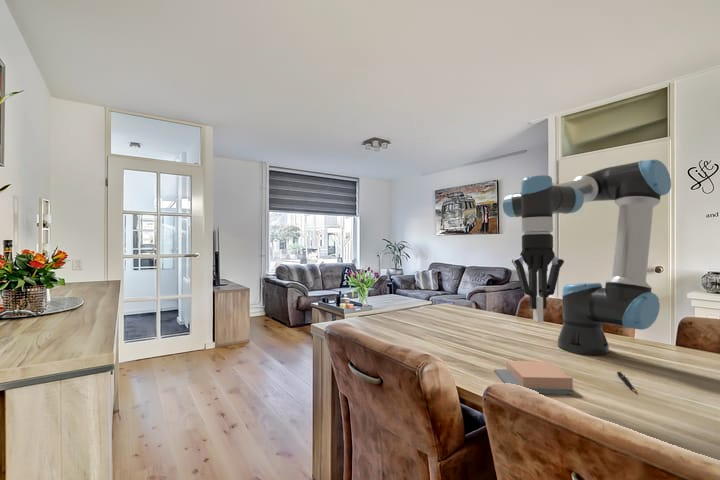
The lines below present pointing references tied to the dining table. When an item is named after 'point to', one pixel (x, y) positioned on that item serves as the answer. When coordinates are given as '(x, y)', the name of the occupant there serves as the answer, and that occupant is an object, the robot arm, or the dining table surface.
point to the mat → (509, 379)
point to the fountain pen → (625, 380)
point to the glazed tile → (539, 375)
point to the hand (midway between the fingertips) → (538, 320)
